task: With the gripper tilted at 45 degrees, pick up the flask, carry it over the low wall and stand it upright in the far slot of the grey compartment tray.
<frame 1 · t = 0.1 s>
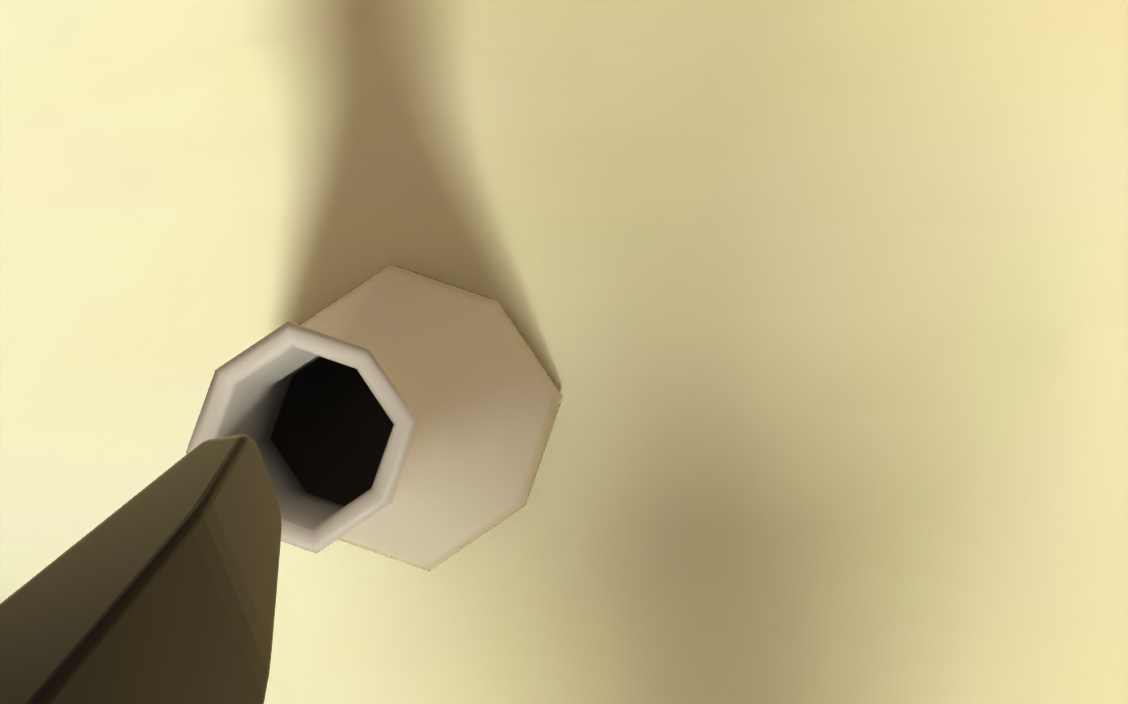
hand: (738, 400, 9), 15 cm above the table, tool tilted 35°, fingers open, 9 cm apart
flask: (412, 416, 24), on the table
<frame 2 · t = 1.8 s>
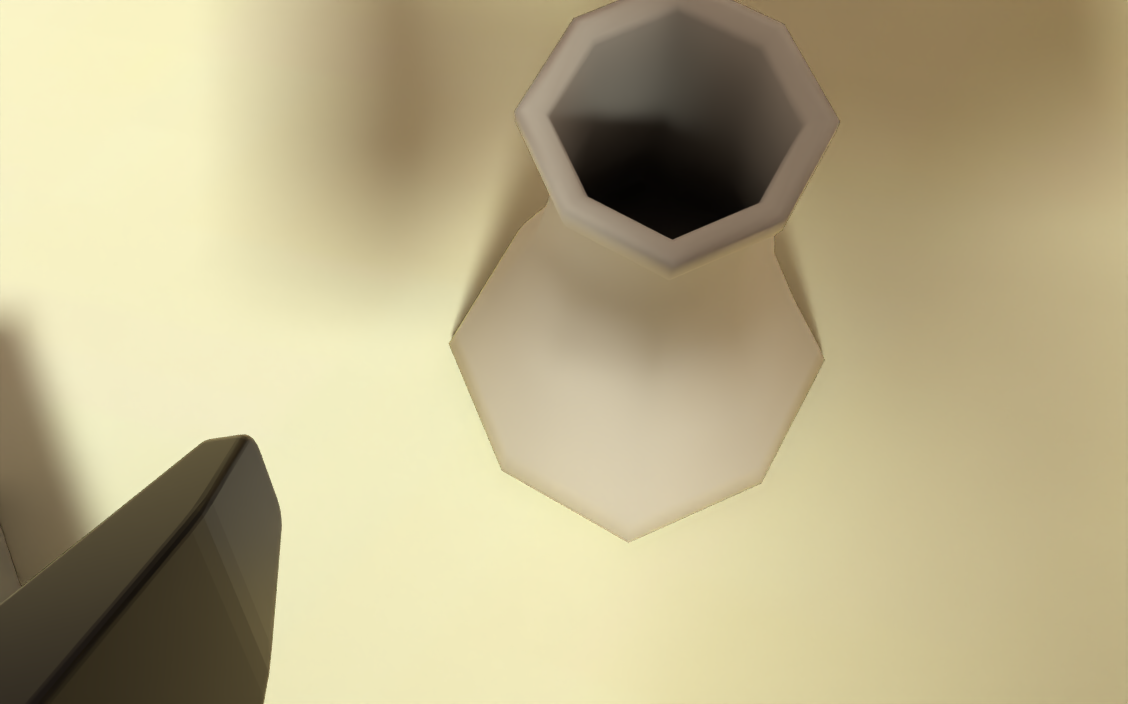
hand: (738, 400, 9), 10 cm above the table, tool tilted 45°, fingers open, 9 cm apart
flask: (634, 357, 20), on the table
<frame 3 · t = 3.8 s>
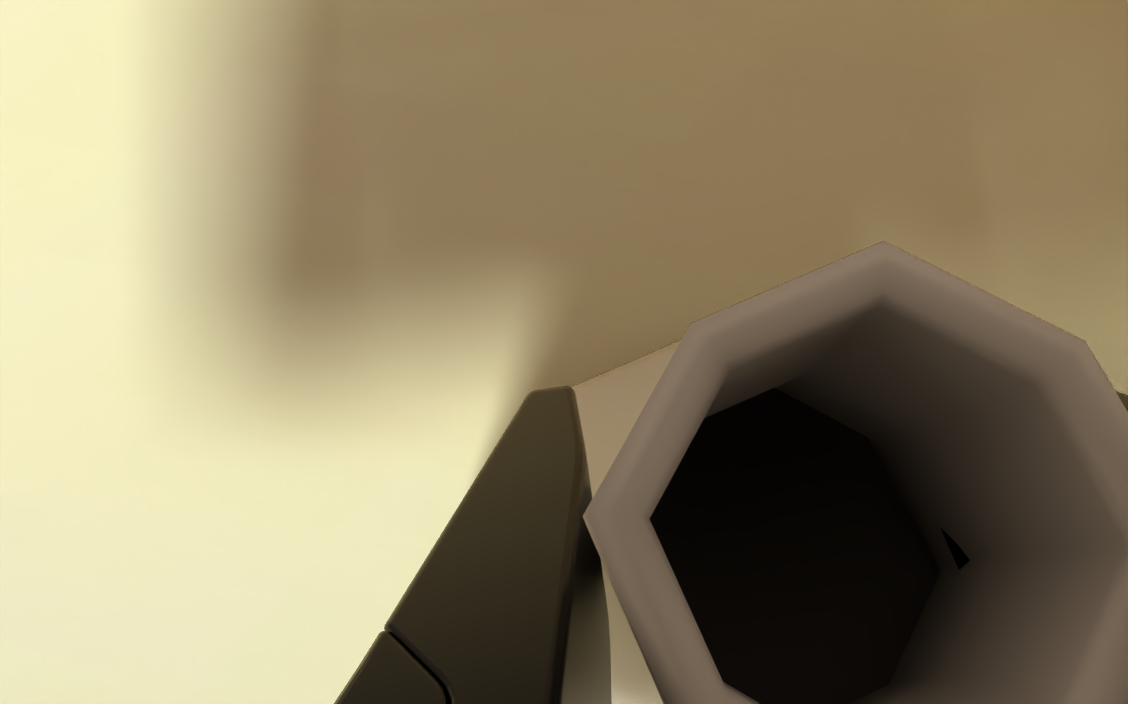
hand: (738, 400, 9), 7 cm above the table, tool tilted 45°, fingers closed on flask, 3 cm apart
flask: (694, 569, 15), on the table, touching gripper
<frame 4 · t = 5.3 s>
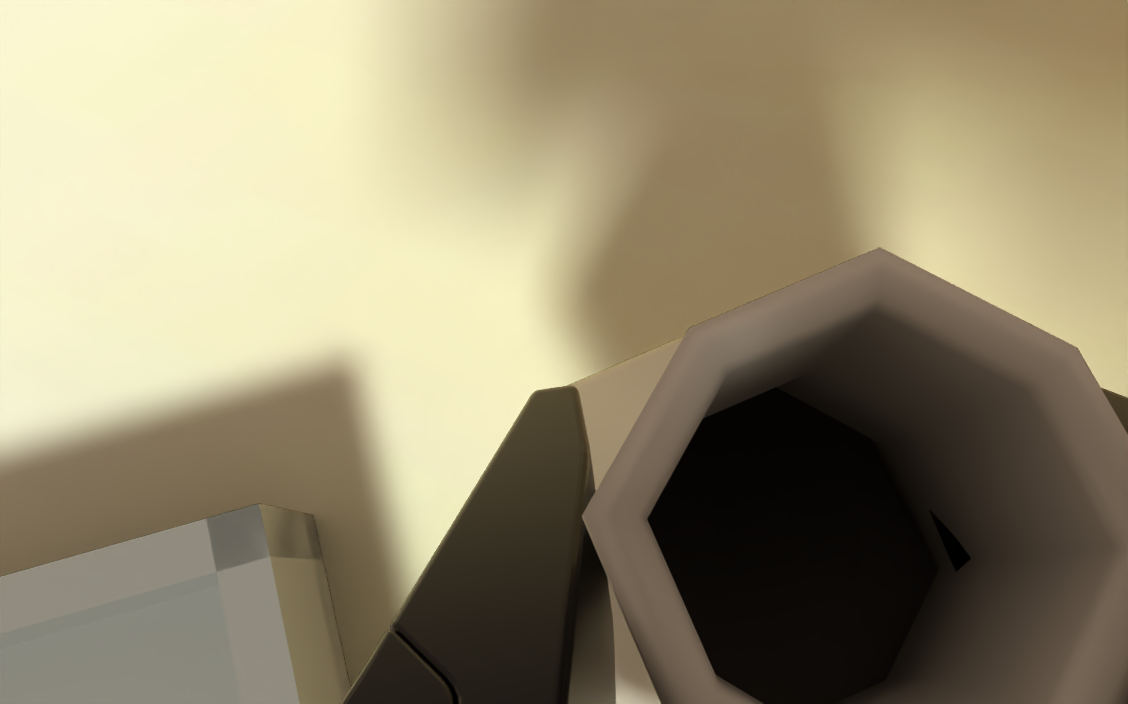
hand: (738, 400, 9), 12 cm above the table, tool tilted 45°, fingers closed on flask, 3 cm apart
flask: (696, 563, 15), point 5 cm above the table, touching gripper
when the fingers open (9 cm above the table, at t = 7.3 s): flask drops 1 cm, resting on grey compartment tray.
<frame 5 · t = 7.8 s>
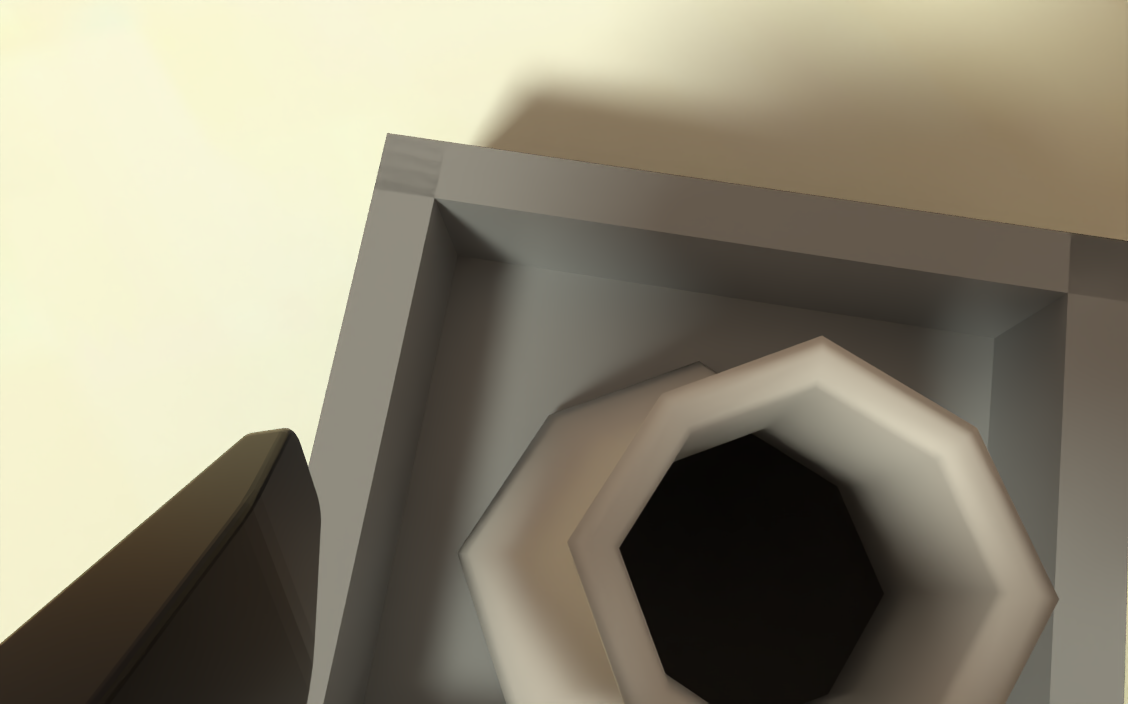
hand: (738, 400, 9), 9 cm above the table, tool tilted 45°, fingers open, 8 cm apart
flask: (677, 579, 16), point 1 cm above the table, touching grey compartment tray
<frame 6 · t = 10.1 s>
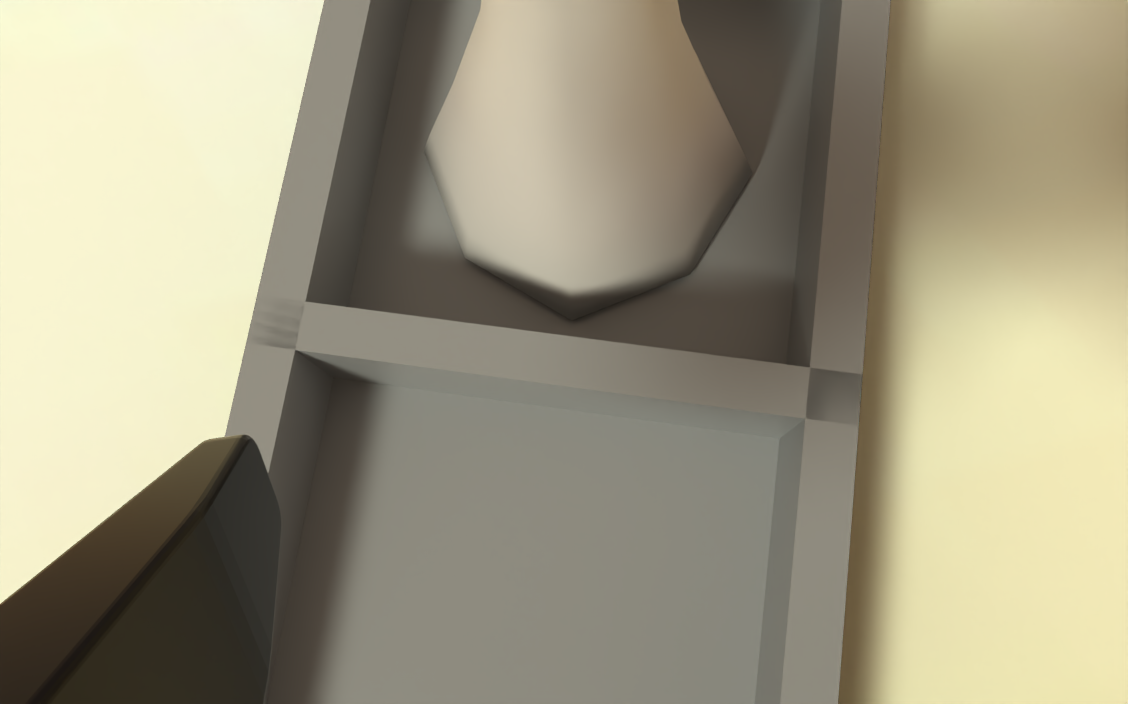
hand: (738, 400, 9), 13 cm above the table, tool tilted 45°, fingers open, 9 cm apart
flask: (586, 170, 22), point 1 cm above the table, touching grey compartment tray
grey compartment tray: (557, 392, 22), on the table
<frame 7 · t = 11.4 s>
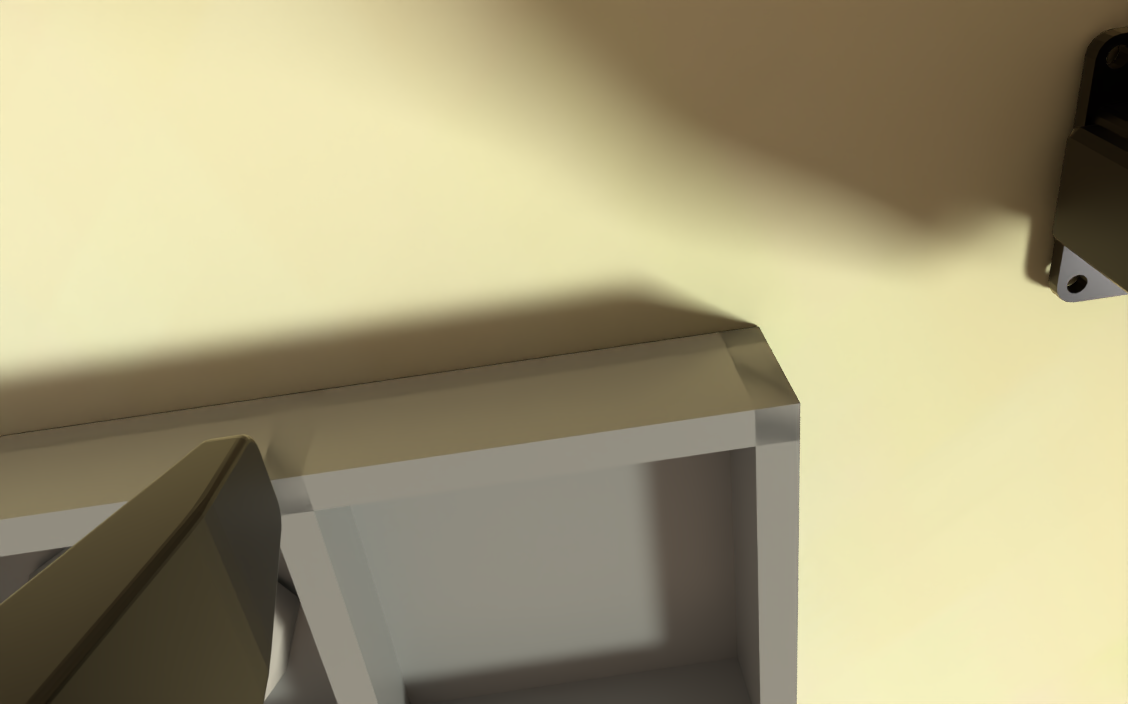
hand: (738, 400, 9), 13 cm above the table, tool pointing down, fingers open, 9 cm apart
flask: (168, 612, 26), point 1 cm above the table, touching grey compartment tray
grey compartment tray: (359, 568, 26), on the table
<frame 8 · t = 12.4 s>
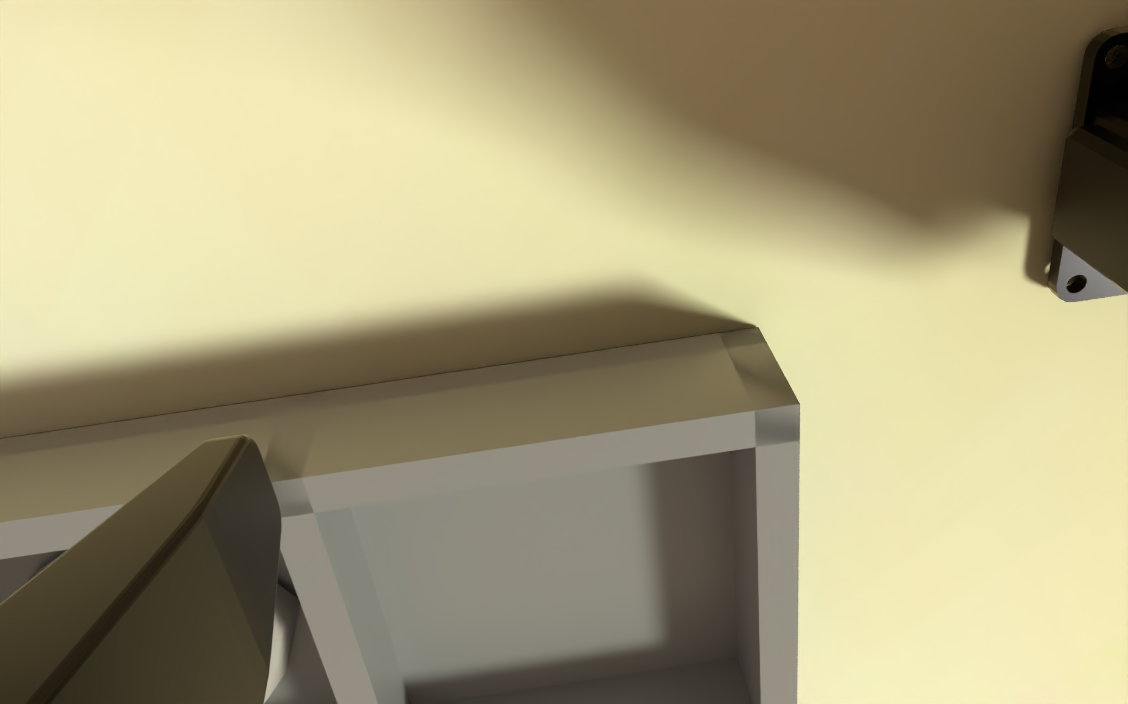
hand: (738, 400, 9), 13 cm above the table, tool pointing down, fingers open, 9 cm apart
flask: (168, 614, 26), point 1 cm above the table, touching grey compartment tray
grey compartment tray: (360, 569, 26), on the table
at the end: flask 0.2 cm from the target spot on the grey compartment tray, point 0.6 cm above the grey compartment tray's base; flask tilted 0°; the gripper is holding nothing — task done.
